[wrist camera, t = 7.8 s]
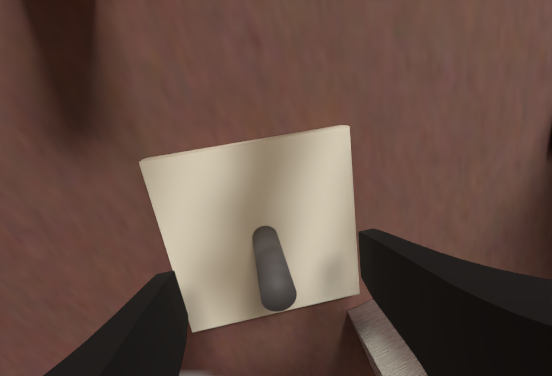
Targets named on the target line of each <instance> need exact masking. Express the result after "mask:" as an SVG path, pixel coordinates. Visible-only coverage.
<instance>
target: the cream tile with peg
mask: <svg viewBox="0 0 552 376" xmlns="http://www.w3.org/2000/svg"><path fill="white" fill-rule="evenodd" d="M139 164H140V167H141V171H142V174H143V177H144V180H145V183H146V187H147V190H148V193H149V196H150V199H151V202H152V206H153V209H154V212H155V215H156V218H157V222H158V225H159V228H160V231H161V234H162V237H163V241H164V244H165V247H166V250H167V253H168V257H169V260H170V263H171V266H172V269H173V271H175V274H176V278H177V281H178V284H179V287H180V290H181V294H182V297H183V300H184V303H185V306H186V310H187V313H188V320H189V323H190V327H191V330H192V333H193V332H197V331H201V330H206V329H210V328H214V327H218V326H223V325H227V324H231V323H236V322H240V321H244V320H248V319H253V318H257V317H261V316H266V315H270V314H274V313H278V312H283V311H287V310H291V309H296V308H300V307H304V306H308V305H313V304H317V303H321V302H326V301H330V300H334V299H338V298H343V297H347V296H351V295H356V294H359V277H358V260H357V244H356V227H355V210H354V194H353V177H352V160H351V143H350V127H349V126H346V125H339V126H333V127H327V128H321V129H315V130H309V131H303V132H297V133H292V134H286V135H280V136H274V137H268V138H262V139H256V140H250V141H244V142H238V143H233V144H227V145H221V146H215V147H209V148H203V149H197V150H191V151H185V152H179V153H173V154H168V155H162V156H156V157H150V158H145V159H143V160H141V161H140V162H139Z"/></svg>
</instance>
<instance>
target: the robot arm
mask: <svg viewBox="0 0 552 376" xmlns="http://www.w3.org/2000/svg"><path fill="white" fill-rule="evenodd" d="M359 250H360V267H361V277H362V279H363V281H364V283H365V285H366V287H367V289H368V290H369V292H370V294H371V296H372V297H373V299H374V301H375V302H376V303H377V305H378V306H379V308H380V309H381V310H382V312H383V313H384V314H385V316H386V317H387V319H388V320H389V321H390V323H391V324H392V325H393V327H394V328H395V329H396V331H397V332H398V333H399V335H400V336H401V337H402V339H403V340H404V342H405V343H406V344H407V346H408V347H409V348H410V350H411V351H412V352H413V354H414V355H415V357H416V358H417V360H418V361H419V363H420V364H421V365H422V367H423V369H424V370H425V372H426V374H427V375H428V376H552V280H550V279H544V278H539V277H534V276H528V275H523V274H518V273H513V272H509V271H504V270H500V269H496V268H492V267H488V266H484V265H480V264H476V263H472V262H469V261H465V260H462V259H459V258H455V257H452V256H449V255H446V254H443V253H440V252H437V251H434V250H431V249H428V248H426V247H423V246H420V245H418V244H415V243H412V242H410V241H407V240H404V239H402V238H399V237H397V236H394V235H391V234H389V233H386V232H383V231H380V230H377V229H369V230H365V231H360V232H359ZM187 326H188V313H187V310H186V306H185V303H184V300H183V297H182V294H181V290H180V287H179V284H178V281H177V278H176V274H175V271H170V272H165V273H160V274H157V275H155V276H154V277H153V278H152V279H151V280H150V281H149V282H148V283H147V284H146V285H145V286H144V287H143V288H142V289H141V290H140V291H138V292H137V293H136V294H135V295H134V296H133V297H132V298H131V299H130V300H129V301H128V302H127V303H126V304H125V305H124V306H123V307H122V308H121V309H120V310H119V311H118V312H117V313H116V314H115V315H114V316H113V317H112V318H111V319H110V320H108V321H107V322H106V323H105V324H104V325H103V326H102V327H101V328H100V329H99V330H98V331H96V332H95V333H94V334H93V335H92V336H91V337H90V338H89V339H88V340H87V341H85V342H84V343H83V344H82V345H81V346H80V347H78V348H77V349H76V350H75V351H74V352H72V353H71V354H70V355H69V356H68V357H66V358H65V359H64V360H63V361H61V362H60V363H59V364H57V365H56V366H55V367H54V368H52V369H51V370H50V371H49V372H47V373H46V374H45V375H43V376H179V372H180V368H181V364H182V359H183V354H184V350H185V345H186V337H187Z"/></svg>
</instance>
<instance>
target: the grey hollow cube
mask: <svg viewBox="0 0 552 376" xmlns="http://www.w3.org/2000/svg"><path fill="white" fill-rule="evenodd" d="M348 314H349V316H350V319H351V321H352V323H353V326H354V328H355V330H356V332H357V335H358V337H359V339H360V342H361V344H362V346H363V349H364V351H365V353H366V355H367V358H368V360H369V362H370V365H371V367H372V369H373V371H374V373H375V374H376V376H428V375H427V374H426V372H425V370H424V369H423V367H422V365H421V364H420V363H419V361H418V360H417V358H416V357H415V355H414V354H413V352H412V351H411V350H410V348H409V347H408V346H407V344H406V343H405V342H404V340H403V339H402V337H401V336H400V335H399V333H398V332H397V331H396V329H395V328H394V327H393V325H392V324H391V323H390V321H389V320H388V319H387V317H386V316H385V314H384V313H383V312H382V310H381V309H380V308H379V306H378V305H377V303H376V302H375V301H374V299H373V300H371V301H369V302H367V303H365V304H362V305H360V306H358V307H356V308H354V309H352V310H350V311H348Z"/></svg>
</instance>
